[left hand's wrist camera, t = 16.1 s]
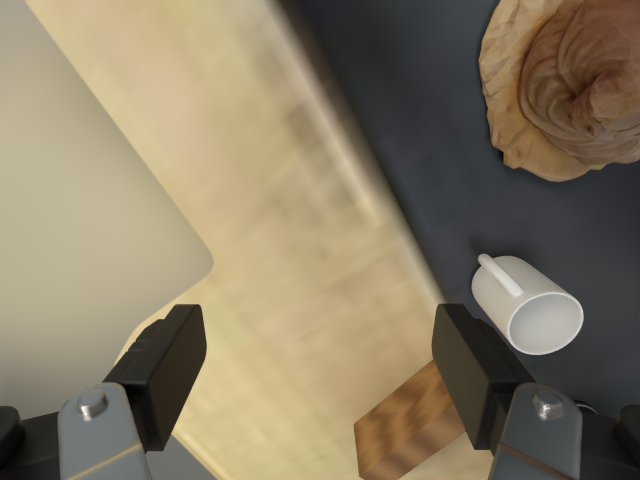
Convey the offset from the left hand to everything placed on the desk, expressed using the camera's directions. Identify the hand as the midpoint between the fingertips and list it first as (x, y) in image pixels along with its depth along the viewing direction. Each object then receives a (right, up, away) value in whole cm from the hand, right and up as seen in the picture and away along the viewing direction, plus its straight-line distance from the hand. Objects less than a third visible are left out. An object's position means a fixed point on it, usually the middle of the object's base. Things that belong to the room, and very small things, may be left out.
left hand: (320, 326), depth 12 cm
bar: (+15, -21, +43) cm, 50 cm away
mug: (+24, -1, +35) cm, 43 cm away
